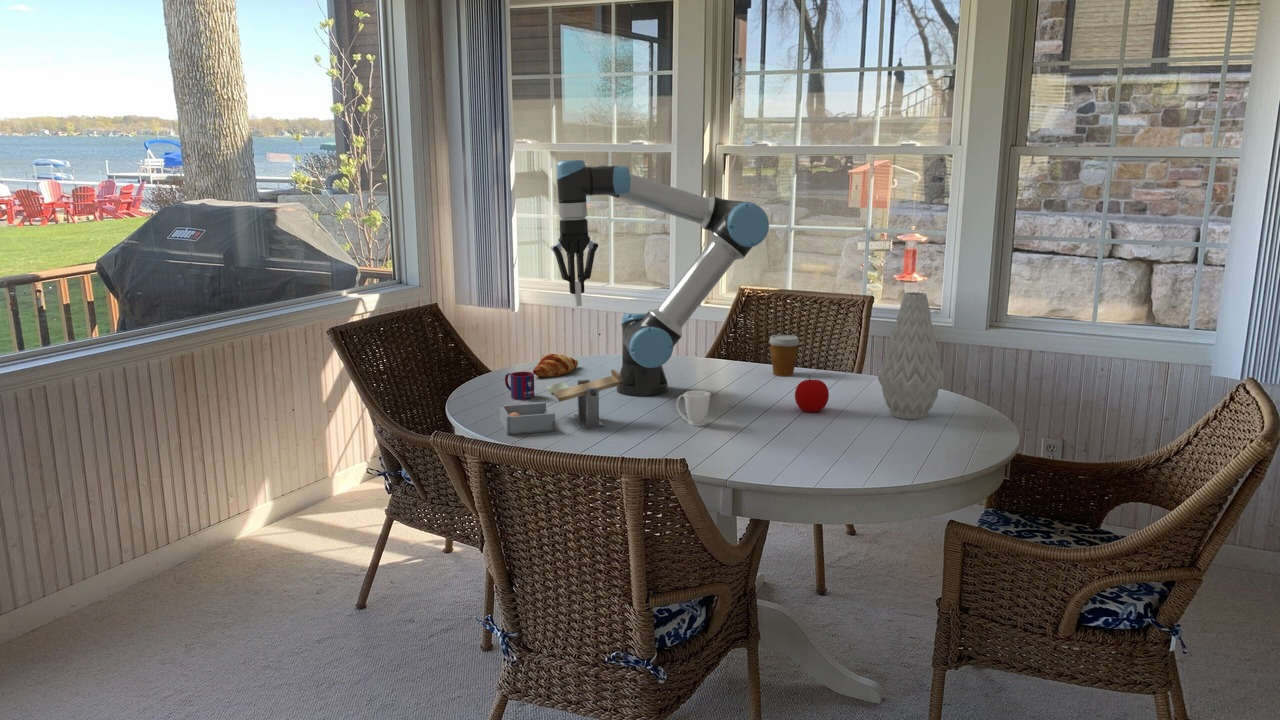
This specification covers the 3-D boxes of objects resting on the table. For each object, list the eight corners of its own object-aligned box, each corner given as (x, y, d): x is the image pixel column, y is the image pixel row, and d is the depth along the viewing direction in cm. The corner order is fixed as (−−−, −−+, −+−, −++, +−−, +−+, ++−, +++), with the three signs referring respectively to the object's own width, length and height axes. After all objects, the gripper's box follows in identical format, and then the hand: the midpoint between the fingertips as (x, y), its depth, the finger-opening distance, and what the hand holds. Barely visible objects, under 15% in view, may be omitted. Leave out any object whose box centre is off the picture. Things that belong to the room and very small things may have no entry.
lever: (608, 373, 259) (607, 364, 258) (622, 384, 246) (621, 374, 245) (546, 389, 255) (544, 380, 254) (557, 402, 242) (555, 392, 241)
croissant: (570, 376, 317) (561, 354, 317) (591, 365, 311) (582, 343, 312) (528, 387, 299) (519, 364, 300) (550, 376, 294) (540, 352, 294)
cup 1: (521, 401, 270) (520, 377, 269) (499, 395, 277) (498, 372, 276) (539, 396, 275) (538, 373, 274) (517, 391, 282) (516, 368, 281)
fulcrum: (592, 415, 255) (591, 378, 253) (603, 426, 244) (603, 388, 242) (573, 416, 254) (573, 380, 252) (584, 428, 242) (583, 390, 240)
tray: (545, 418, 252) (545, 402, 251) (555, 431, 240) (554, 413, 239) (500, 422, 248) (499, 405, 247) (507, 435, 237) (507, 417, 236)
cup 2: (700, 429, 242) (700, 398, 240) (668, 422, 248) (668, 392, 246) (715, 423, 247) (716, 392, 246) (684, 416, 253) (685, 387, 252)
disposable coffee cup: (800, 377, 298) (801, 339, 296) (769, 377, 298) (770, 339, 296) (796, 371, 308) (797, 334, 305) (766, 371, 308) (767, 334, 305)
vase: (872, 421, 249) (878, 296, 242) (879, 406, 264) (885, 288, 257) (939, 427, 243) (947, 299, 236) (943, 411, 258) (950, 290, 252)
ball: (515, 408, 244) (503, 416, 244) (517, 411, 241) (505, 420, 240) (523, 418, 245) (511, 427, 245) (525, 422, 242) (514, 430, 242)
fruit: (803, 404, 266) (804, 369, 264) (833, 409, 261) (834, 373, 258) (788, 411, 258) (789, 375, 256) (819, 416, 253) (820, 380, 251)
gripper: (592, 216, 262) (596, 301, 267) (546, 219, 258) (551, 305, 263) (600, 217, 255) (604, 305, 260) (553, 220, 251) (558, 309, 256)
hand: (577, 305), depth 261 cm, fingers closed
